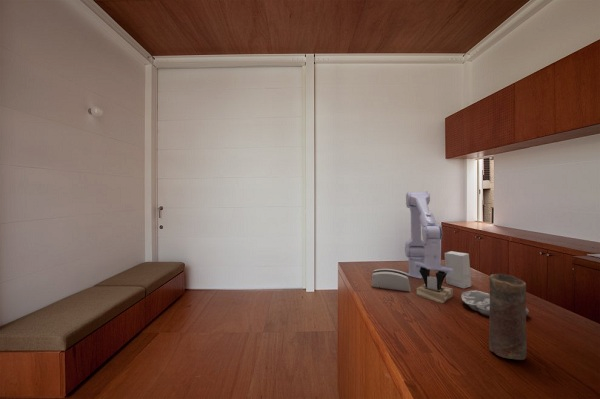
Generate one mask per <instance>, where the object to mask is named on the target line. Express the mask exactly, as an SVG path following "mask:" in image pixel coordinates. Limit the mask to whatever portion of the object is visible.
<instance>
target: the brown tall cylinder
mask: <svg viewBox="0 0 600 399" xmlns="http://www.w3.org/2000/svg"><path fill="white" fill-rule="evenodd" d="M526 291H527V283H526V282H525V281H524V280H523V279H521V278H518V277H516V276H514V275H511V274H504V273H492V274H490V275H489V294H490V316H489V318H488V319H489V322H488V323H489V326H488V327H489V330H488V348H489V349H488V350H489V351H490V352H492V353H494V354H495V355H497V356H498V357H502V358H503V359H504V358H505V359H511V360H513V361H523V360H525V359H526V358H527V314H526V308H527V294H526Z"/></svg>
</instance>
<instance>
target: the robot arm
mask: <svg viewBox="0 0 600 399" xmlns="http://www.w3.org/2000/svg"><path fill="white" fill-rule="evenodd" d="M430 201H431V194H430V193H429V191H428V190H427V191H411V192H409V191H408V192H407V193H406V194H405V205H406V208H408V209H409V211H410V239H408V240H407V241H406V242H405V246H404V253H405V256H406V258H408V272H406V273H407V274H408V277H413V278H416V279H421V280H422V279H423V280H422V281H423V282H424V284H425V286H426V287H427V276H431V275H430V273H431V271H434V272H435V277H436V278H437V290H440V289H441V287H442V286H443V283H444V280H445V279H446V275H447V273H448V274H450V275H452V274H453V269H452V268H448V267H445V265H441V264H442V263H441V240H442V238H443V229H442V228H443V227H442V226H441V225H440V224H439V223H437V221H436V219H435V216H434V214H433V213H432V212H430V210H429V206H428V205H429V204H430Z"/></svg>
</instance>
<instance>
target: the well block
mask: <svg viewBox="0 0 600 399" xmlns="http://www.w3.org/2000/svg"><path fill="white" fill-rule="evenodd" d="M453 290H454V289H453V288H451V287H446V286H443V285H442V287H441V292H436V291H432V290H428V289H427V287H426V286H425V283H424V284H422V285H420V286H419V287H416V296H417V297H421V298H424V299H427V300H430V301H431V300H432V301H434V302H437V303H441V304H444V303H446V301H448V300H450V299H451V298H452V297H453V296H454V293H453V292H454V291H453Z"/></svg>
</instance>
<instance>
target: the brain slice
mask: <svg viewBox="0 0 600 399" xmlns="http://www.w3.org/2000/svg"><path fill="white" fill-rule="evenodd" d="M460 298H461V300H462V302H463V304H465V305H467V306H468V307H469V308H470V309H471V310H473V311H475V312H479V313H480V314H482V315H484V316H488V317H490V293H488V292H485V291H481V290H469V291H463V292H461V294H460ZM529 313H530V309H529V308H528V307H526V315H528V314H529Z"/></svg>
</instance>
